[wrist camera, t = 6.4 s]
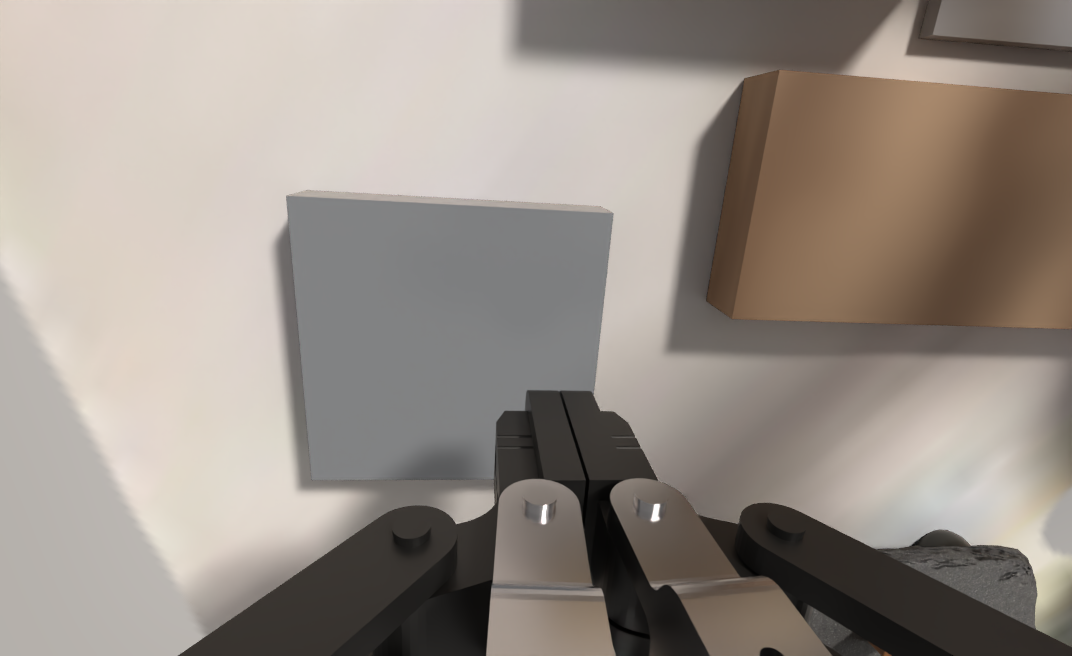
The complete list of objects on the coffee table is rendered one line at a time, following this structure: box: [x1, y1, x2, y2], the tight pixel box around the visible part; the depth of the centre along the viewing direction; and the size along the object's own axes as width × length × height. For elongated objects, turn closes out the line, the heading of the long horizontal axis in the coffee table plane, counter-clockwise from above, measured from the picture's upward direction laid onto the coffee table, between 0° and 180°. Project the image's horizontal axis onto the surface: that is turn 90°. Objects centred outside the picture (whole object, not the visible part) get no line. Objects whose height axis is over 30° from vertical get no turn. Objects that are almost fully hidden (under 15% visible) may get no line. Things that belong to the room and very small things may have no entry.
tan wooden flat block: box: [706, 70, 1072, 329], centre depth 17 cm, size 16×7×2 cm, turn 87°
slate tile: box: [286, 190, 613, 480], centre depth 17 cm, size 2×9×9 cm
